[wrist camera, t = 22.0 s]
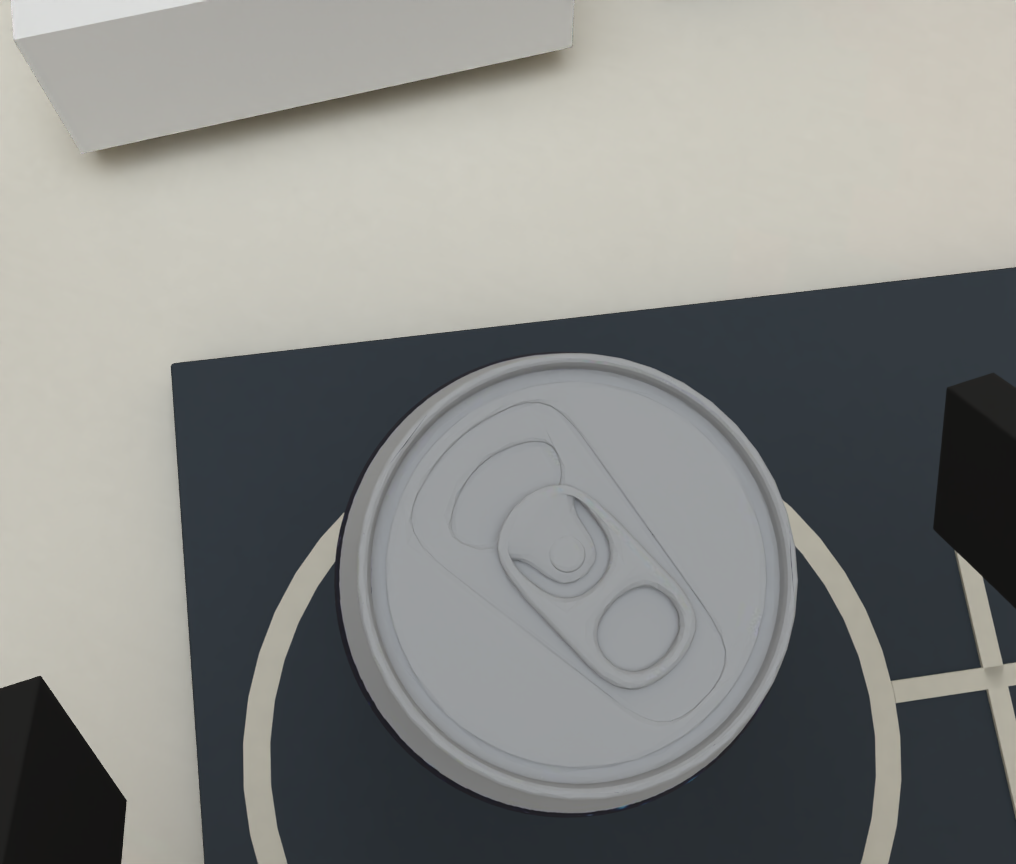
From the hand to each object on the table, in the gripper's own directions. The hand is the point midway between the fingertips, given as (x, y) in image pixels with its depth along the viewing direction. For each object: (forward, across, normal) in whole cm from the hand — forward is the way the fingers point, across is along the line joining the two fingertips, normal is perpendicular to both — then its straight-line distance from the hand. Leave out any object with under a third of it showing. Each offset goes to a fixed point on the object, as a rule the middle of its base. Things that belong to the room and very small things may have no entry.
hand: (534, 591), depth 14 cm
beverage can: (+6, 0, -6) cm, 9 cm away
